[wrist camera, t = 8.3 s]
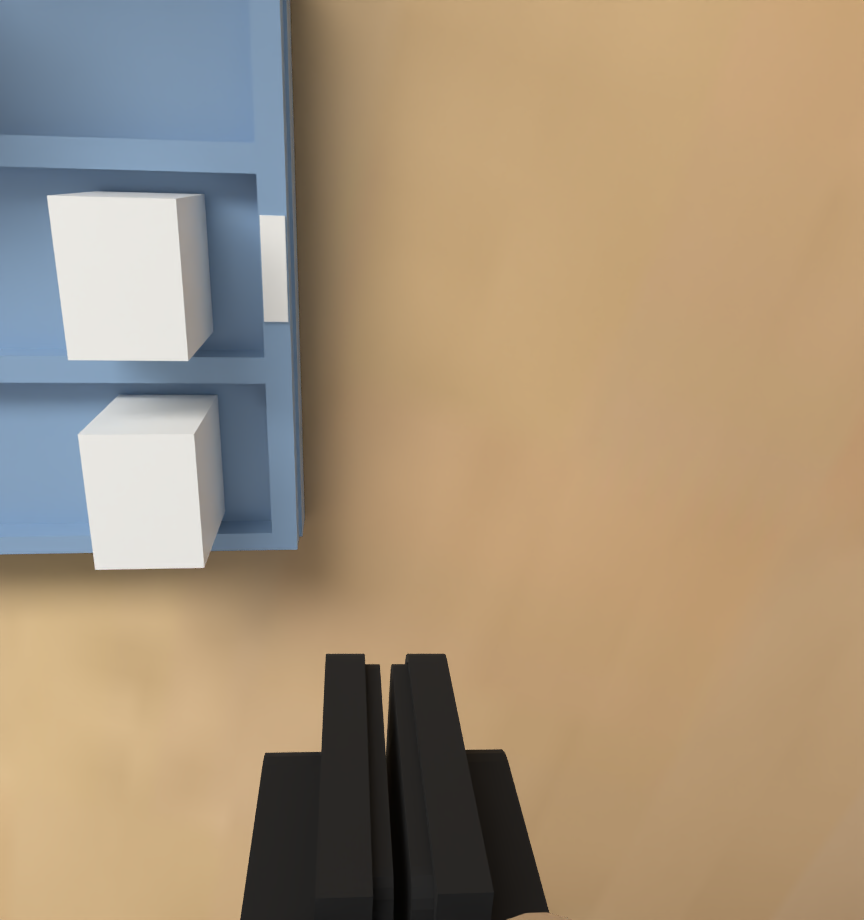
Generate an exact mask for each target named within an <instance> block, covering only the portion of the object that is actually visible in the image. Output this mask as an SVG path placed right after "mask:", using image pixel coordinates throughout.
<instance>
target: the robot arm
mask: <svg viewBox="0 0 864 920" xmlns="http://www.w3.org/2000/svg"><path fill="white" fill-rule="evenodd" d="M240 920H571V919H570V918H568V917H564V916H559V915H555V914H551V913H549V910H548V907H547V903H546V899H545V896H544V892H543V888H542V884H541V881H540V877H539V873H538V870H537V866H536V862H535V859H534V855H533V851H532V848H531V844H530V840H529V837H528V833H527V829H526V826H525V822H524V818H523V815H522V811H521V807H520V804H519V800H518V796H517V793H516V789H515V785H514V782H513V778H512V774H511V771H510V767H509V763H508V760H507V757H506V754H505V752H504V751H503V750H502V749H499V750H465V747H464V742H463V737H462V732H461V727H460V722H459V717H458V712H457V707H456V702H455V697H454V692H453V688H452V683H451V678H450V673H449V668H448V663H447V658H446V655H445V654H407V655H406V660H405V664H392V665H391V674H390V692H389V710H388V728H387V746H386V753H385V738H384V722H383V707H382V691H381V676H380V665H379V664H365V655H364V654H326V663H325V685H324V707H323V729H322V751H321V752H290V753H265V756H264V760H263V766H262V773H261V780H260V787H259V794H258V801H257V808H256V815H255V822H254V829H253V836H252V843H251V850H250V857H249V863H248V870H247V877H246V884H245V891H244V898H243V905H242V912H241V919H240Z"/></svg>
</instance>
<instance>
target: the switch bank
mask: <svg viewBox="0 0 864 920" xmlns="http://www.w3.org/2000/svg"><path fill="white" fill-rule="evenodd" d="M93 191H110V192H148V193H185V194H205V210H206V225H207V240H208V256H209V271H210V286H211V301H212V317H213V333H212V334H211V335H210V336H209V337H208V339H207V340H206V341H205V342H204V343H203V344H202V346H201V347H200V348H199V349H198V350H197V351H196V353H195V354H194V355H193V356H192V357H191V358H190V360H189V361H112V360H68V356H67V348H66V340H65V332H64V325H63V317H62V309H61V301H60V294H59V286H58V278H57V271H56V263H55V255H54V247H53V240H52V232H51V224H50V216H49V209H48V201H47V195H59V194H70V193H82V192H93ZM118 395H218V409H219V424H220V439H221V455H222V470H223V485H224V501H225V513H224V516H223V519H222V521H221V524H220V527H219V529H218V532H217V535H216V538H215V540H214V543H213V546H212V548H211V551H236V550H297V549H298V543H299V536H302V535H303V528H304V521H305V507H304V472H303V437H302V401H301V366H300V331H299V296H298V260H297V225H296V190H295V155H294V119H293V84H292V49H291V14H290V0H0V554H50V553H93V549H92V541H91V534H90V526H89V518H88V510H87V503H86V495H85V487H84V479H83V472H82V464H81V456H80V449H79V441H78V434H79V433H80V432H81V431H82V430H83V429H84V428H85V427H86V426H87V425H88V424H89V423H90V422H91V421H92V420H93V419H94V418H95V417H96V416H97V415H98V414H99V413H101V412H102V411H103V410H104V409H105V408H106V407H107V406H108V405H109V404H110V403H111V402H112V401H113V400H114V399H115V398H116V397H117V396H118Z"/></svg>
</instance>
